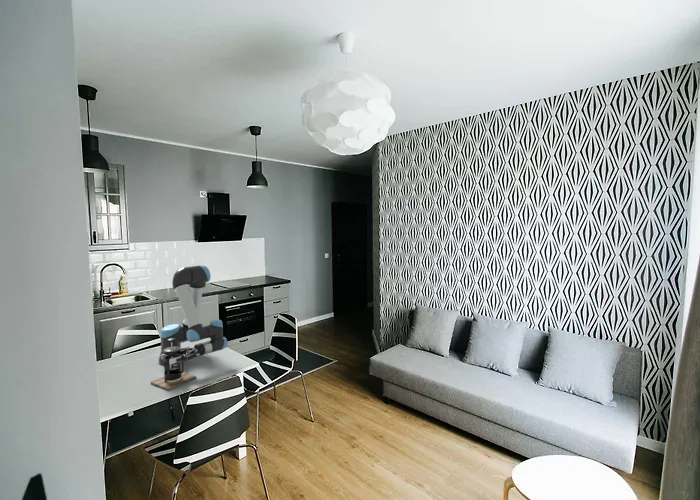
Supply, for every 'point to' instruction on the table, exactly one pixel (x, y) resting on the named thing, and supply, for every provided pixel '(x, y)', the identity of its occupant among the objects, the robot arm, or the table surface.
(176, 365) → the french press
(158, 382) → the board
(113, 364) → the table surface
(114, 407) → the table surface
